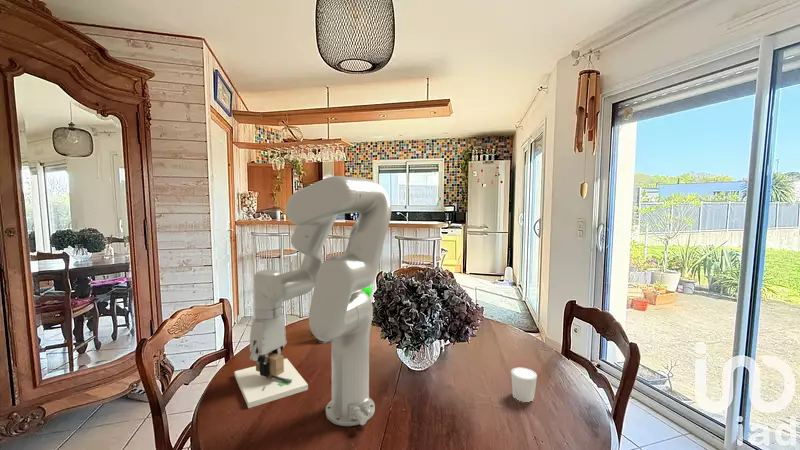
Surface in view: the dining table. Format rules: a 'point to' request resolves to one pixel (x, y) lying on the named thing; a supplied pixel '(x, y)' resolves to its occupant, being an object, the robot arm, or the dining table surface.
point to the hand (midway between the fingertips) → (269, 372)
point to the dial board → (268, 385)
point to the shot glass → (523, 384)
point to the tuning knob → (274, 366)
